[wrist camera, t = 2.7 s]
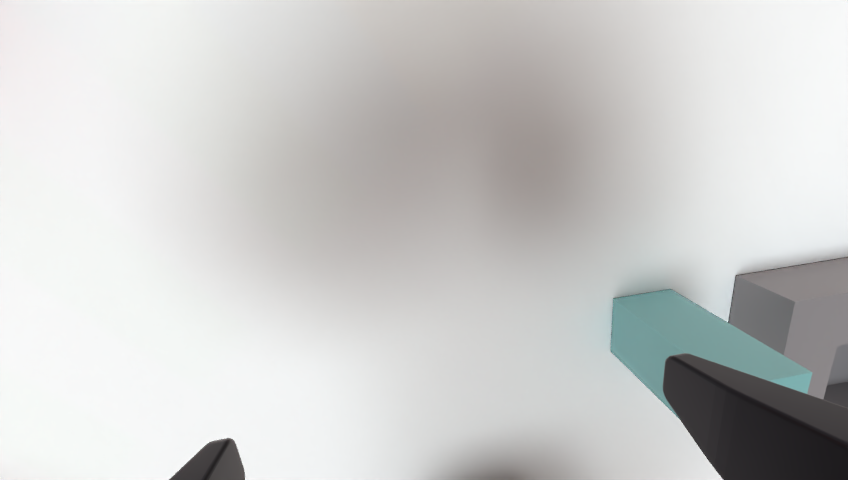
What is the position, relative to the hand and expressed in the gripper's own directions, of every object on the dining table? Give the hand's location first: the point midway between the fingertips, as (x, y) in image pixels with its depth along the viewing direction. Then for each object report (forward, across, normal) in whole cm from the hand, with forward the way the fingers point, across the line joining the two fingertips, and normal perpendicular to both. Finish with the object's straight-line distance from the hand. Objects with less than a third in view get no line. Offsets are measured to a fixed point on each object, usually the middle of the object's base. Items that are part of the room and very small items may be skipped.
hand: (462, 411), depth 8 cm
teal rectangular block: (+13, -13, +8) cm, 20 cm away
